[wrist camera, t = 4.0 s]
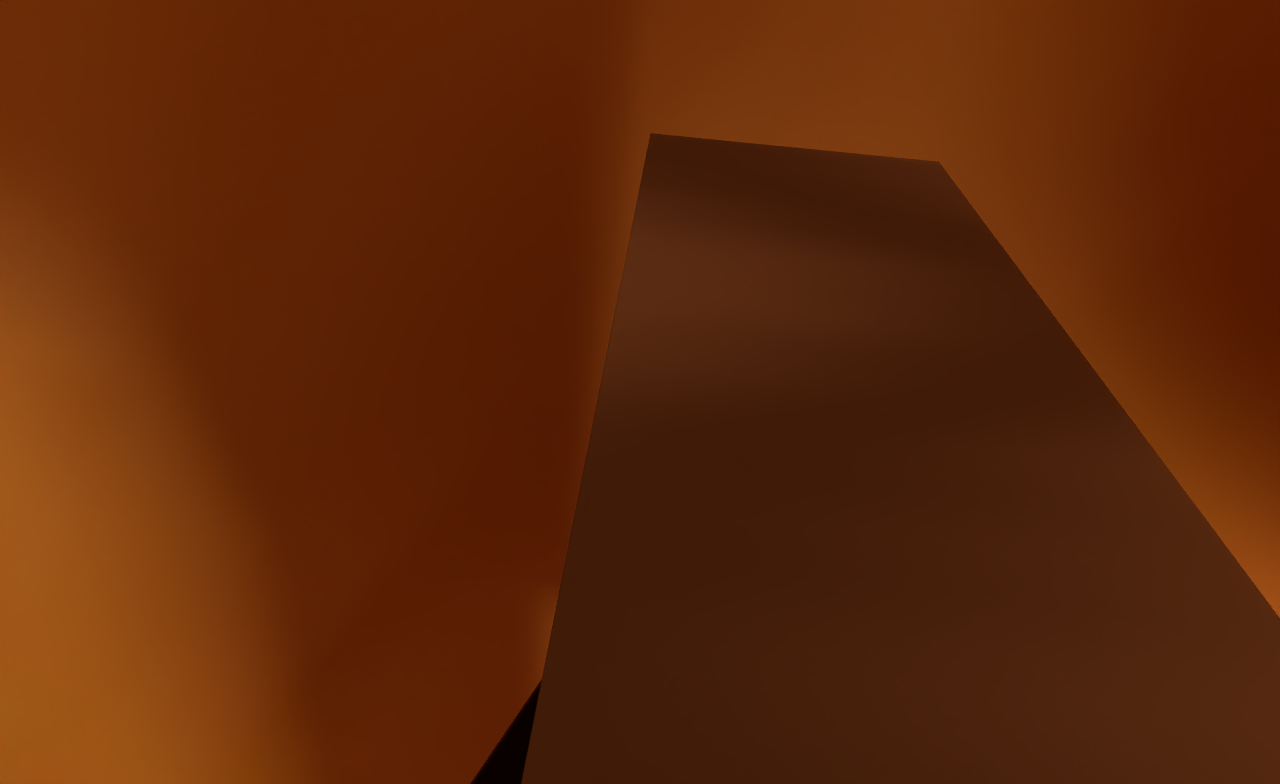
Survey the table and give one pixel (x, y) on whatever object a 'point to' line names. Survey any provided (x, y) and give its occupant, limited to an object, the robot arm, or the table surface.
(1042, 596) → the brown upright panel
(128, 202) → the table surface
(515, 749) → the robot arm
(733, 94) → the table surface
